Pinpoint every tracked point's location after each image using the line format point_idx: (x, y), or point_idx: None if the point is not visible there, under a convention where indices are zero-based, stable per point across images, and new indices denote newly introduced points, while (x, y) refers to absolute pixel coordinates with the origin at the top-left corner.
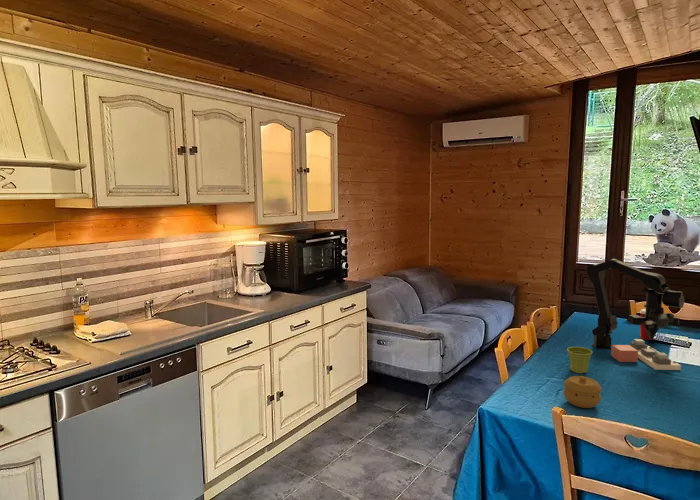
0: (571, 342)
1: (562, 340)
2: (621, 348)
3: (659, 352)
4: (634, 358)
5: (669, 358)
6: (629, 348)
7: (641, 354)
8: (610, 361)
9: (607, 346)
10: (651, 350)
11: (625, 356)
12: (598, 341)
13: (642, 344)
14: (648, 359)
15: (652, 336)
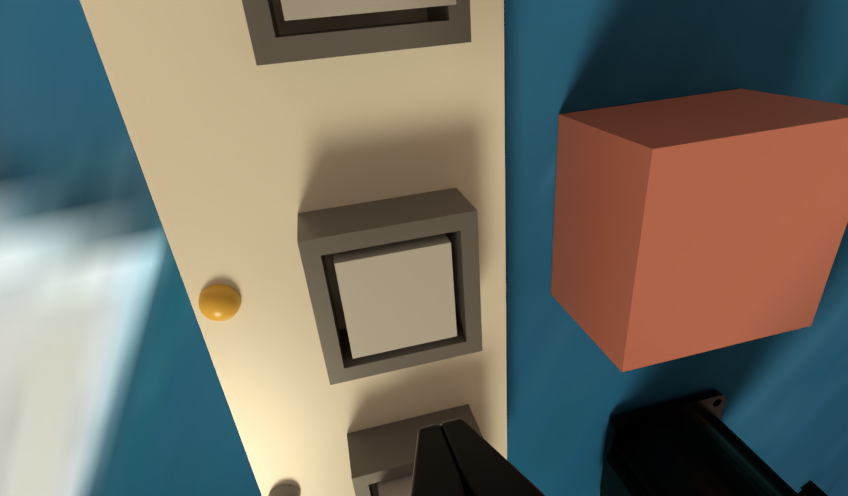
0: (795, 468)
1: (823, 484)
2: (806, 208)
3: (225, 386)
4: (616, 119)
5: (144, 172)
6: (707, 232)
7: (483, 257)
8: (817, 82)
9: (650, 436)
10: (377, 301)
11: (738, 106)
12: (747, 460)
13: (402, 485)
14: (486, 62)
15: (462, 475)
